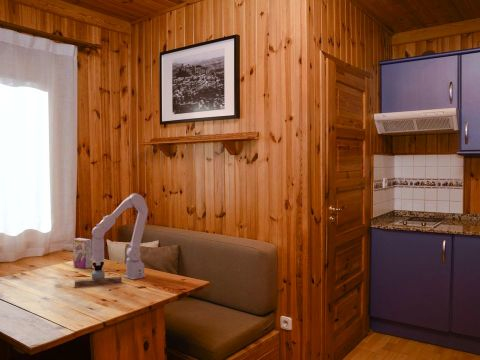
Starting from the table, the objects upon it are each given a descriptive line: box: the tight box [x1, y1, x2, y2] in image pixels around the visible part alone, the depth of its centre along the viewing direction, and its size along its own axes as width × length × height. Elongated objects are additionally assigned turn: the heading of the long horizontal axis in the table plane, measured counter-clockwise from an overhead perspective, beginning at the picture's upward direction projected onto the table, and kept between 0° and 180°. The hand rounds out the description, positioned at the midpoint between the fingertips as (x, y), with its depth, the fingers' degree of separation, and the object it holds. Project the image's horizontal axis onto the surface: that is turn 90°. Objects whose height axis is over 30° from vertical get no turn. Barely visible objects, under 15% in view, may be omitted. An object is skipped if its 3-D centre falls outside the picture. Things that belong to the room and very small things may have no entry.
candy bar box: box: [72, 237, 93, 270], centre depth 246 cm, size 11×5×16 cm, turn 58°
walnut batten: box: [74, 276, 123, 288], centre depth 211 cm, size 22×3×2 cm, turn 108°
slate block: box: [91, 269, 106, 279], centre depth 215 cm, size 6×6×5 cm
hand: (98, 276), depth 218 cm, fingers closed, pressing on slate block
